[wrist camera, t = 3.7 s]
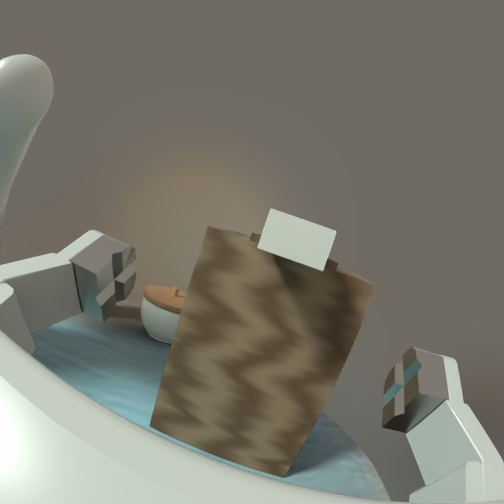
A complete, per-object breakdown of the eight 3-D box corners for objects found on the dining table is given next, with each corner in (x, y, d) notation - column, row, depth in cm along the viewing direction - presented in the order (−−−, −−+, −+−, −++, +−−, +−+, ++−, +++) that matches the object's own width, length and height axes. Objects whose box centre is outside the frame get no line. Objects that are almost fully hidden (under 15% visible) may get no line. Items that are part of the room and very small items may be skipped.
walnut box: (149, 426, 34) (210, 218, 32) (187, 382, 49) (238, 226, 47) (283, 477, 32) (379, 278, 30) (289, 420, 46) (354, 267, 45)
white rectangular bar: (257, 247, 23) (270, 208, 23) (278, 246, 47) (285, 227, 46) (322, 271, 22) (336, 231, 22) (310, 257, 46) (317, 238, 46)
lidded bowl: (124, 321, 63) (136, 273, 62) (169, 322, 73) (182, 279, 72) (154, 351, 55) (169, 298, 55) (202, 348, 65) (218, 301, 64)
